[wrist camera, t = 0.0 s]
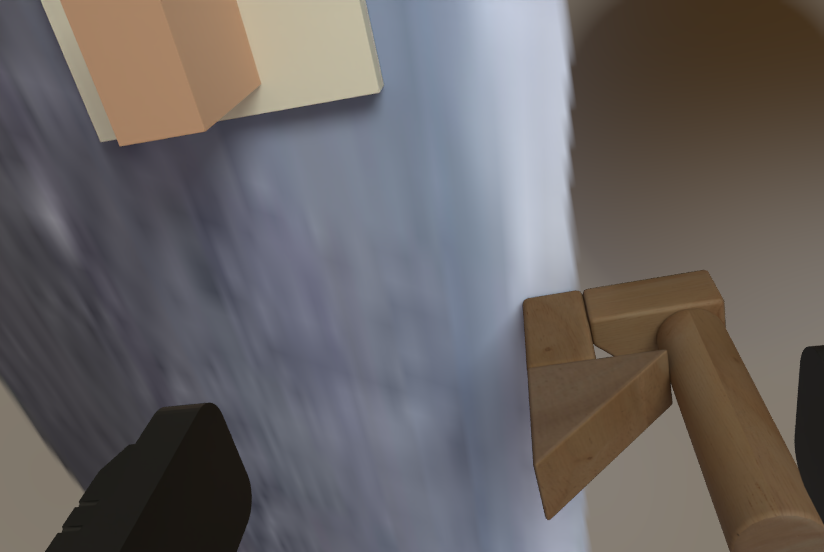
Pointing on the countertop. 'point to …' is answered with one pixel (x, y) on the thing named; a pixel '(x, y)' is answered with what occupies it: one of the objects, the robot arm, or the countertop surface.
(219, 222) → the countertop surface
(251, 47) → the stand
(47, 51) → the countertop surface
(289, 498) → the countertop surface
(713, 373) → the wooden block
